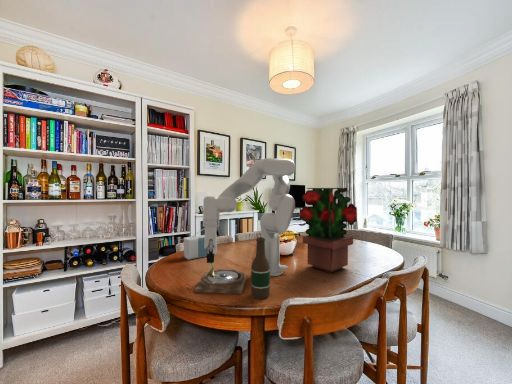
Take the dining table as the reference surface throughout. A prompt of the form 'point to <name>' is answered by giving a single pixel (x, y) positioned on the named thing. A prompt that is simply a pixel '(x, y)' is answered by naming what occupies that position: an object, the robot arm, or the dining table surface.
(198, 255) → the stereo radio cassette player
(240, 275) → the dial housing
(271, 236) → the robot arm
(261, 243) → the beer bottle
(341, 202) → the potted plant
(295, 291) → the dining table surface
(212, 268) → the dial
